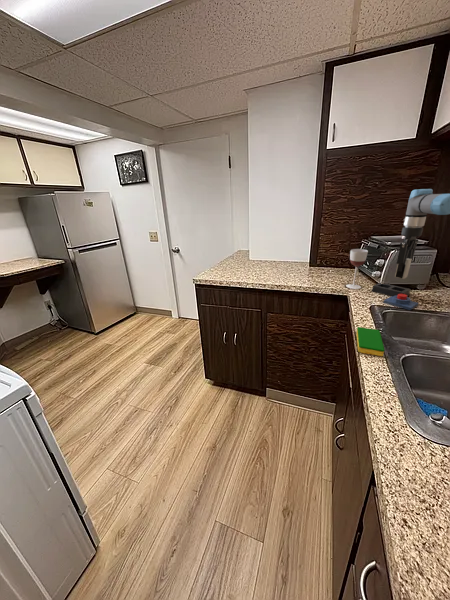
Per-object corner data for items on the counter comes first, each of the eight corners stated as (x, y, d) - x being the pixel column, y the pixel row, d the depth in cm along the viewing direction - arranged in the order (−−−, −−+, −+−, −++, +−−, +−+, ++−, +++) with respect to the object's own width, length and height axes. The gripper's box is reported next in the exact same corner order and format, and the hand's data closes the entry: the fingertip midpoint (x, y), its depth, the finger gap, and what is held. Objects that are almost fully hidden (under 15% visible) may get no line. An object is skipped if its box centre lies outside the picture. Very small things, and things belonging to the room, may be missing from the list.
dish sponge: (378, 335, 90) (379, 329, 89) (383, 356, 78) (384, 350, 77) (356, 332, 93) (357, 326, 92) (358, 352, 81) (359, 346, 80)
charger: (407, 277, 120) (411, 258, 116) (403, 278, 118) (408, 260, 114) (398, 275, 123) (402, 257, 119) (394, 277, 121) (398, 258, 117)
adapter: (409, 294, 123) (410, 289, 121) (402, 298, 119) (403, 293, 117) (379, 287, 133) (380, 282, 132) (371, 291, 129) (373, 285, 128)
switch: (407, 298, 112) (408, 295, 111) (404, 300, 110) (405, 297, 109) (398, 296, 115) (399, 293, 114) (395, 298, 113) (396, 295, 112)
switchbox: (417, 305, 111) (419, 299, 110) (410, 310, 107) (412, 303, 106) (391, 298, 120) (392, 292, 119) (383, 302, 116) (384, 296, 114)
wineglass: (347, 289, 134) (353, 252, 126) (343, 283, 142) (348, 249, 134) (363, 289, 132) (370, 252, 124) (358, 284, 140) (364, 248, 132)
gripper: (411, 224, 118) (400, 271, 127) (395, 228, 109) (384, 278, 118) (430, 225, 112) (417, 274, 122) (415, 229, 104) (402, 282, 113)
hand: (401, 276), depth 120 cm, fingers closed on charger, 4 cm apart
